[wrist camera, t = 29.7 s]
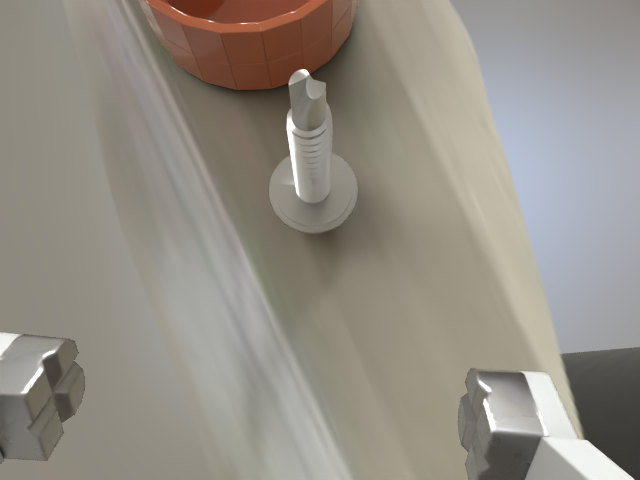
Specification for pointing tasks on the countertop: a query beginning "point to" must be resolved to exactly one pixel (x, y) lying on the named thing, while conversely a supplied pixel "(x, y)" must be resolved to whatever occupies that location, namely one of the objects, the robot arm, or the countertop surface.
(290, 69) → the bowl
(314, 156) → the screw
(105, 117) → the countertop surface
